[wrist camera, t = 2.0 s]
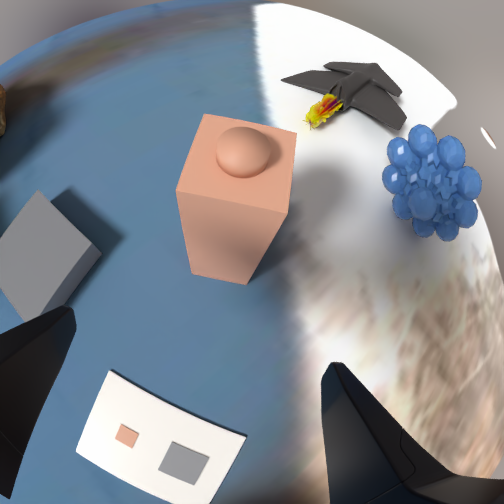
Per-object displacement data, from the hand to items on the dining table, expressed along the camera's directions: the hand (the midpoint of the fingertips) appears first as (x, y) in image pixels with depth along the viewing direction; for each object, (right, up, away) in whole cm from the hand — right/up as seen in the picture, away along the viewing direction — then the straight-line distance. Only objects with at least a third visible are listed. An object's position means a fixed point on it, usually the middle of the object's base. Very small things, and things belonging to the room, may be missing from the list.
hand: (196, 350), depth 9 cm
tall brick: (-1, +3, +15) cm, 16 cm away
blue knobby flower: (+17, +7, +19) cm, 27 cm away
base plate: (-17, +2, +13) cm, 22 cm away
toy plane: (+15, +25, +26) cm, 39 cm away
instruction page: (-6, -13, +9) cm, 17 cm away
